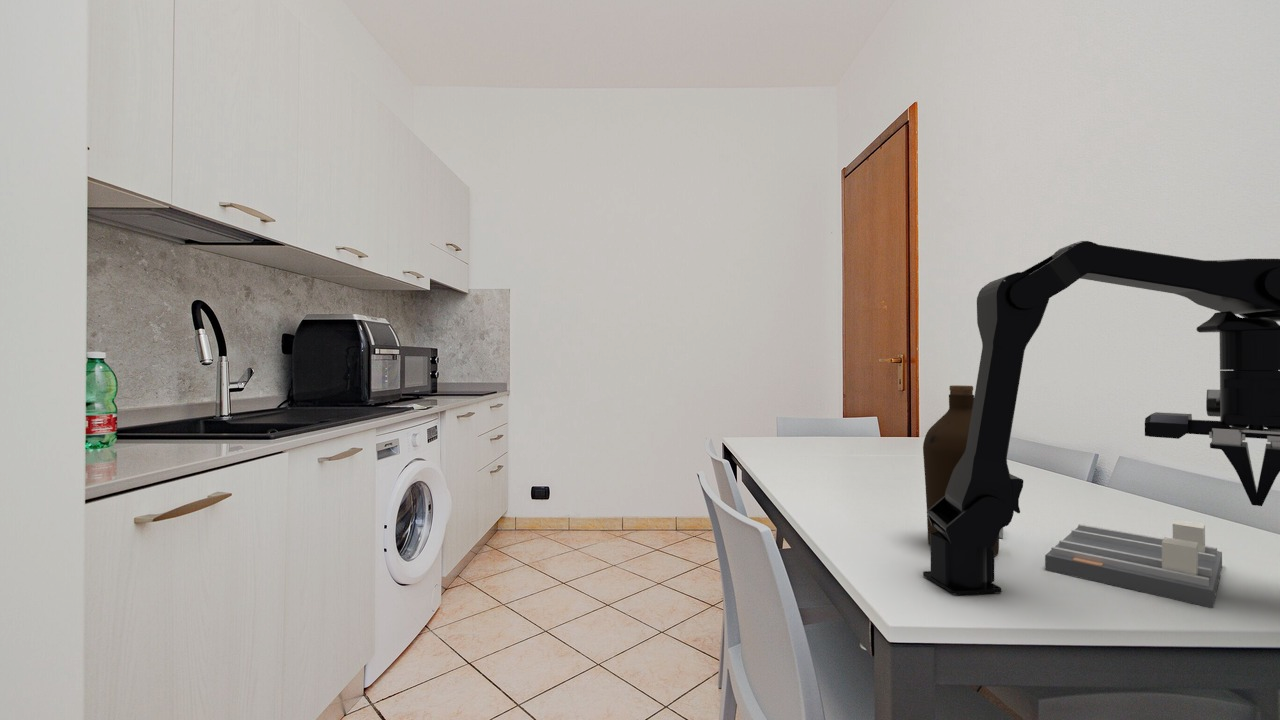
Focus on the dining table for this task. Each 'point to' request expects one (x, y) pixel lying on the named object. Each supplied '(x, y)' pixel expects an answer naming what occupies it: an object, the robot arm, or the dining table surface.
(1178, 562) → the tab near
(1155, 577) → the switch panel
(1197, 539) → the tab far
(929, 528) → the olive oil
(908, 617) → the dining table surface
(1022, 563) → the dining table surface
